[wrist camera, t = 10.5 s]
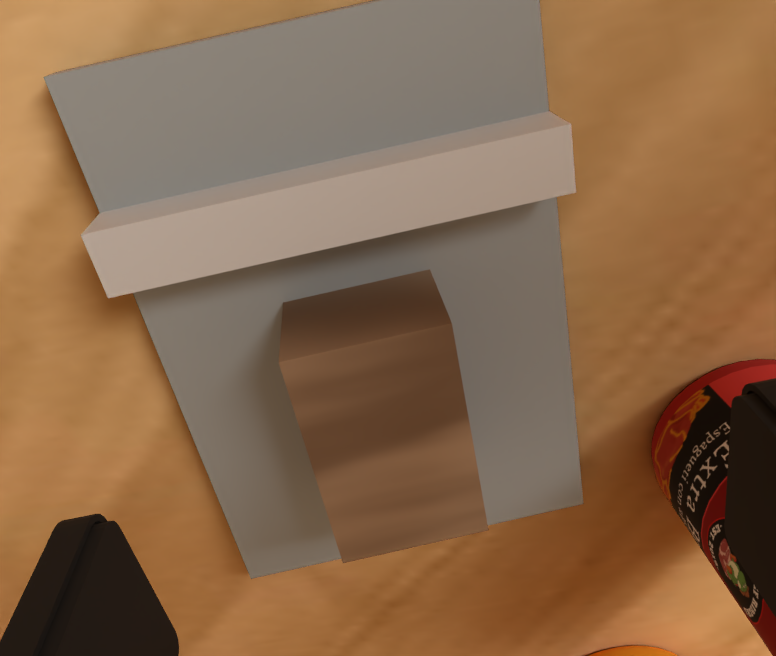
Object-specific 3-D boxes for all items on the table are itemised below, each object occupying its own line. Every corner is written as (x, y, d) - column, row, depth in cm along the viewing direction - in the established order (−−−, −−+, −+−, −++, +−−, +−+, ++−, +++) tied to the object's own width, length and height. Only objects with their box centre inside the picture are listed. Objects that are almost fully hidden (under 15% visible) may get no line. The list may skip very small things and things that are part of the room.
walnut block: (278, 362, 20) (343, 566, 23) (452, 323, 20) (489, 533, 23) (283, 302, 23) (339, 487, 27) (429, 269, 23) (465, 459, 27)
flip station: (55, 72, 20) (16, 87, 18) (526, -35, 20) (559, -36, 17) (252, 560, 29) (247, 618, 27) (575, 487, 29) (601, 538, 27)
